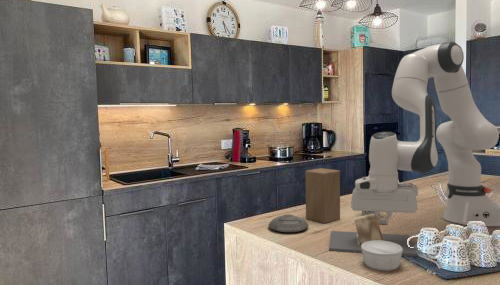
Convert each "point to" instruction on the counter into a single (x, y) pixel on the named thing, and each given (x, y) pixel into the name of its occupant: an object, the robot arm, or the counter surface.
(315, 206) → the wooden block
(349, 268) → the counter surface
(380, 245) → the ramekin
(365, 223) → the maple cube
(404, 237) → the rubber mat
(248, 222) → the counter surface
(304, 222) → the flying saucer
